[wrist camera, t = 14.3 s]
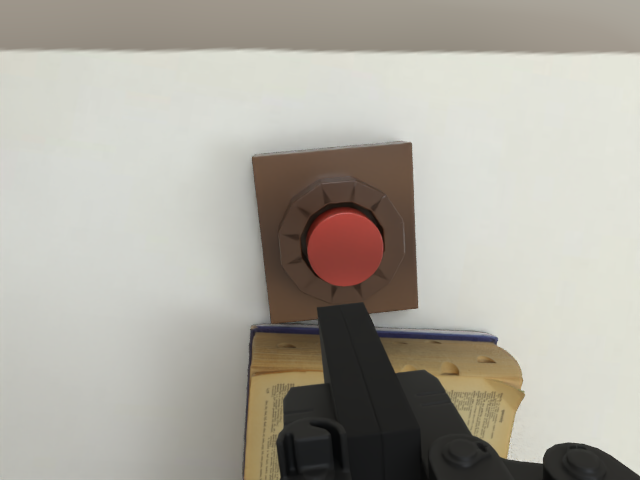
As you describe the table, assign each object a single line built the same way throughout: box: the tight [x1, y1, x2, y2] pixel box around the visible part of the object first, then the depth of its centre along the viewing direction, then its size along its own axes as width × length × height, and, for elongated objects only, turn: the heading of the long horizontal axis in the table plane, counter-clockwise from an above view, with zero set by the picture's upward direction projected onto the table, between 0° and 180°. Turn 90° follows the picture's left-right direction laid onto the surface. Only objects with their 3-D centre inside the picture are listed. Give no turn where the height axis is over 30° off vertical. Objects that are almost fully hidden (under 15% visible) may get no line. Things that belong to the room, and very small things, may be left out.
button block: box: [252, 141, 418, 324], centre depth 29 cm, size 10×9×4 cm
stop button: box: [306, 207, 384, 286], centre depth 26 cm, size 4×4×2 cm
